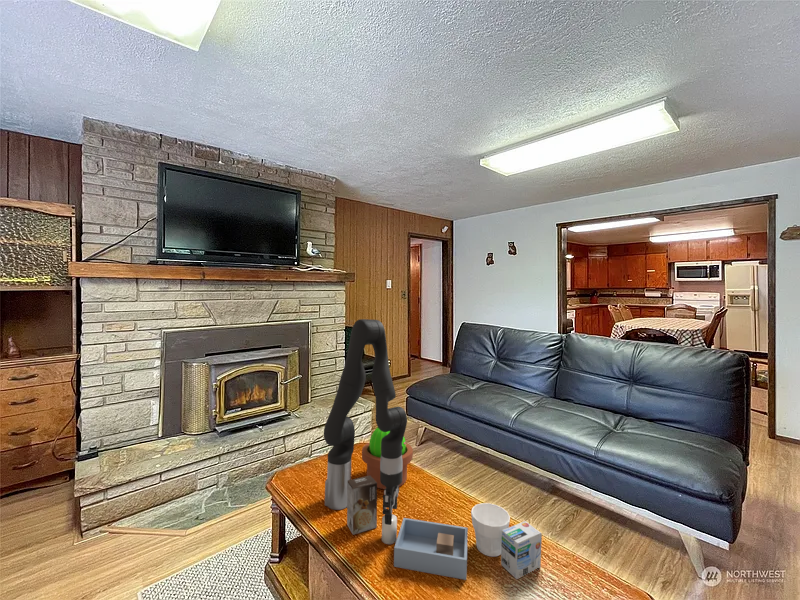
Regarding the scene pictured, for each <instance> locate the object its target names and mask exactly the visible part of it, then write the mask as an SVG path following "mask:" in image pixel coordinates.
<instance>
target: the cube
mask: <svg viewBox="0 0 800 600" xmlns="http://www.w3.org/2000/svg"><path fill="white" fill-rule="evenodd" d="M453 549H454V535H449V534H443V533H438V537H437V544H436V553H440V554H446V555H451V556H453Z"/></svg>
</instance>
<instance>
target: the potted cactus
mask: <svg viewBox="0 0 800 600" xmlns="http://www.w3.org/2000/svg"><path fill="white" fill-rule="evenodd" d="M389 432H390V431H388V432H382V431H381V430H380V429H379V428H378V426H377V427H376V428H374V430H373V431H372V433H371V435H370V438H369V437H368V438H369V439H368V440H369V442H367V443H365V444H364V445H363V447H362V448H361V459H362V461H363V462H364V463H365V464H366V476H369V475H370V476H371V477H372V478H373V479H374V480H375V481H376V482H377V489H381V490H385V489H386V487H385V486H384V485H382V484H381V482H380V460H381V441H382V438H383V437H384V436H386V435H387V434H389ZM413 450H414V449H413V447H412V446H411V445H410V444H409V443H407V442H406V438H405V436H404V437H403V441H402V461H403V480H402V483H401V484H400V485H399V487H401V486H403V485H404V484H405V483H406V481H407V478H408V473H407V472H408V464H410V463H411V462H412V460H413V456H414V455H413V454H414V451H413Z"/></svg>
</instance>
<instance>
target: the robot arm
mask: <svg viewBox="0 0 800 600" xmlns="http://www.w3.org/2000/svg"><path fill="white" fill-rule="evenodd" d="M385 330H386V329H385V326H384V324H383V323H382V322H381V321H380V320H378V319H366V318H362V319H361V318H360V319H358V320H356V321H355V322H354V324H353V326H352V328H351V331H350V337H349V343H348V347H347V348H348V349H347V354H346V359H345V361H344V365H343V370H342V373H341V376H340V379H339V382H338V385H337V386H338V387H337V391H336V394H335V398H334V400H333V404H332V407H331V410H330V413H329V415H328V417H327V420H326V422H325V424H324V429H323V438H324V441H325V443H326V445H327V446H331V449H330V450H329V451H328V452H327V453H328V454H327V469H326V470H327V471H326V472H327V475H326V480H325V481H324V483H325V484H324V507H325V506H326V507H327V508H328V509H331V510H337V511H338V510H344V509H346V508H347V483H348V480H352V457H353V453H354V450H355V449H354V448H355V435H356V433H355V431H356V429H355V428H356V427H355V425H354V424H355V423H354V421H353V419H351V418H350V417H349V416H348V415H349V413H350V411H351V410H352V409H353V408H354V406H355V405H356V404H357V402H358V400H359V399H360V398H361V396H362V393H363V389H364V387H365V384H366V379H367V378H366V375H367V374H366V370H365V368H364V367H365V366H364V364H363V352H364V350H365V347H366V346H369V345H370V346H372V348H373V351H374V362H373V366H372V370H371V384H372V387H373V388H372V389H373V393H374V396H375V424H376V426H377V427H378V428H379V429H380V430H381V431H382V432H388V431H390V432H389V434H387V435H386V436H384V437H383V438H382V441H381V460H380V482H381V484H382V485H384V486H385V487H386V489H383V490H384V491H383V495H382V515H385V524H387V525H391V523H392V514H393V510H397V509H398V497H399V492H400V486H399V485H400V484H401V483H402V480H403V461H402V441H403V437H404V438H405V433H406V429H407V424H408V415H407V412H406V411H405V409H404V408H403V407H402V406H394V407H393V406H392V407H390V408H389V407H388V406H389V402H391V401H393V400H394V399H395V398H396V397H397V394H396V393H397V392H396V390H395V386H394V382H393V378H392V375H391V369H390V363H389V357H388V356H389V355H388V346H387V338H386V337H387V335H386V331H385Z"/></svg>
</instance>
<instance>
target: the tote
mask: <svg viewBox="0 0 800 600" xmlns="http://www.w3.org/2000/svg"><path fill="white" fill-rule="evenodd" d="M468 530H469V528H468V527H466V526H465V527H464V526H458V525H453V524H447V523H446V524H445V523H440V522H434V521H426V520H421V519H414V518H408V517H407V518H406V517H403V519H402V522H401V525H400V529H399V532H398V533H397V540H396V542H395V543H394V544H395V545H394V547H393V548H394V549H393V567H394V568H395V567H396V568H401V569H405V570H411V571H417V572H420V573H421V572H422V573H425V574H426V573H427V574H431V575H438V576H443V577H449V578H454V579H458V580H459V579H460V580H464V581H467V575H468V574H467V573H468V570H467V569H468V568H467V567H468ZM438 533H443V534H449V535H454V549H453V556H451V555H446V554H440V553H436V544H437V537H438Z"/></svg>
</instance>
